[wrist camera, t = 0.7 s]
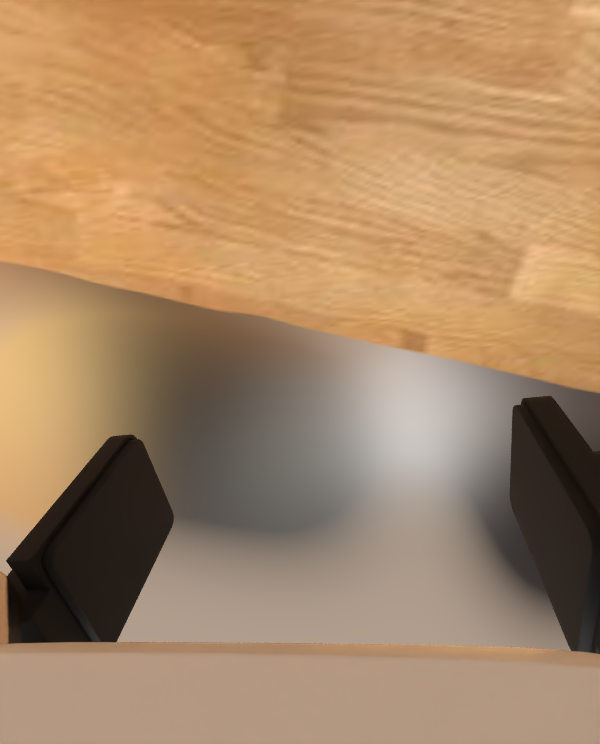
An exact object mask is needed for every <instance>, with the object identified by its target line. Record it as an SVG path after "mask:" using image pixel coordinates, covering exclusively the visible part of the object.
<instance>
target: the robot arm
mask: <svg viewBox="0 0 600 744" xmlns="http://www.w3.org/2000/svg"><path fill="white" fill-rule="evenodd" d="M510 501H511V506H512V509H513V512H514V514H515V517H516V519H517V522H518V524H519V526H520V529H521V531H522V534H523V536H524V538H525V541H526V543H527V546H528V548H529V551H530V553H531V555H532V558H533V560H534V563H535V565H536V568H537V570H538V572H539V575H540V577H541V580H542V582H543V585H544V587H545V589H546V592H547V594H548V597H549V599H550V602H551V604H552V606H553V609H554V611H555V614H556V616H557V619H558V621H559V623H560V626H561V628H562V631H563V633H564V635H565V638H566V640H567V643H568V645H569V647H570V649H571V651H566V650H552V649H539V648H514V647H513V648H512V647H479V646H449V645H383V644H382V645H381V644H310V643H309V644H307V643H304V644H303V643H189V642H188V643H187V642H183V643H182V642H178V643H177V642H171V643H170V642H168V643H167V642H117V639H118V637H119V636H120V633H121V631H122V629H123V627H124V625H125V623H126V621H127V619H128V617H129V615H130V613H131V611H132V609H133V607H134V605H135V602H136V600H137V598H138V596H139V594H140V592H141V590H142V588H143V586H144V584H145V582H146V580H147V577H148V575H149V573H150V571H151V569H152V567H153V565H154V563H155V561H156V559H157V557H158V555H159V552H160V551H161V548H162V546H163V544H164V542H165V540H166V538H167V536H168V534H169V532H170V530H171V528H172V525H173V520H174V518H173V517H174V516H173V512H172V509H171V507H170V505H169V502H168V500H167V497H166V495H165V493H164V490H163V488H162V486H161V483H160V481H159V479H158V477H157V474H156V472H155V470H154V467H153V465H152V462H151V460H150V458H149V455H148V453H147V451H146V449H145V446H144V444H143V442H142V441H141V440H139V439H137V438H136V437H135V436H134V435H122V436H113V437H110V438H109V439H108V440H107V441H106V442H105V443H104V444H103V446H102V447H101V448H100V449H99V451H98V452H97V453H96V454H95V455H94V456H93V458H92V459H91V460H90V461H89V462H88V464H87V465H86V466H85V467H84V468H83V470H82V471H81V472H80V473H79V474H78V476H77V477H76V478H75V479H74V480H73V481H72V483H71V484H70V485H69V486H68V488H67V489H66V490H65V491H64V492H63V494H62V495H61V496H60V497H59V498H58V499H57V501H56V502H55V503H54V504H53V505H52V507H51V508H50V509H49V510H48V511H47V513H46V514H45V515H44V516H43V517H42V519H41V520H40V521H39V522H38V523H37V525H36V526H35V527H34V528H33V529H32V530H31V532H30V533H29V534H28V535H27V536H26V538H25V539H24V540H23V541H22V542H21V544H20V545H19V546H18V547H17V548H16V550H15V551H14V552H13V553H12V554H11V556H10V557H9V558H8V559H7V560H6V561H7V563H8V564H9V566H10V567H11V568H12V571H11V572H10V573H9V574H8V576H6V575H5V574H3V573H2V572H0V744H600V451H598V452H593V451H592V449H591V448H590V447H589V445H588V444H587V443H586V441H585V440H584V439H583V437H582V436H581V435H580V433H579V432H578V431H577V429H576V428H575V427H574V425H573V424H572V423H571V421H570V420H569V419H568V417H567V416H566V415H565V413H564V412H563V411H562V409H561V408H560V407H559V405H558V404H557V403H556V401H555V400H554V399H553V398H552V397H551V396H543V397H532V398H524V399H522V402H521V405H515V406H514V407H513V416H512V444H511V474H510Z"/></svg>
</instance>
